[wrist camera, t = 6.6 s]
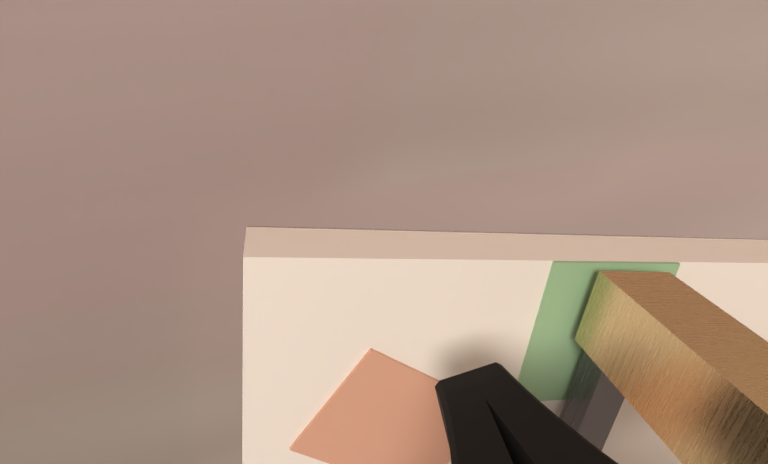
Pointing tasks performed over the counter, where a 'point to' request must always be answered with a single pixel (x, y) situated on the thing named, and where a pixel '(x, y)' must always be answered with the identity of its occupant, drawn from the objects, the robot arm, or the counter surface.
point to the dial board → (440, 330)
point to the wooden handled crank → (670, 370)
